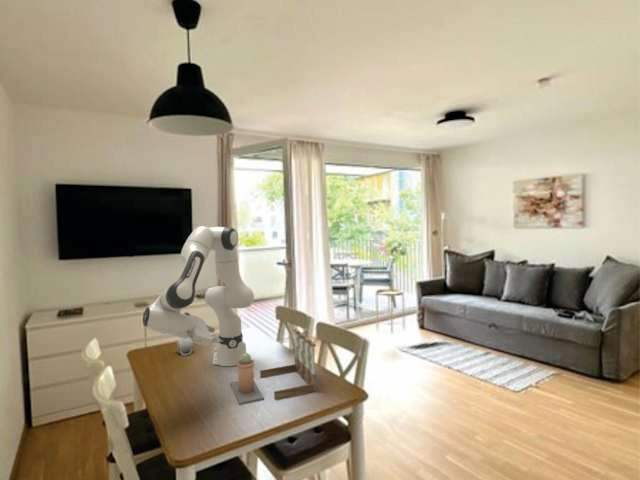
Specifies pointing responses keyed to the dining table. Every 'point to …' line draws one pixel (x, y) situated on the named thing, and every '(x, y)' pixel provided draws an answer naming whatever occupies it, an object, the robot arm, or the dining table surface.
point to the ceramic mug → (184, 346)
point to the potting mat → (246, 394)
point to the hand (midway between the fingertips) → (216, 335)
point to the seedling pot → (245, 373)
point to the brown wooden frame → (297, 367)
